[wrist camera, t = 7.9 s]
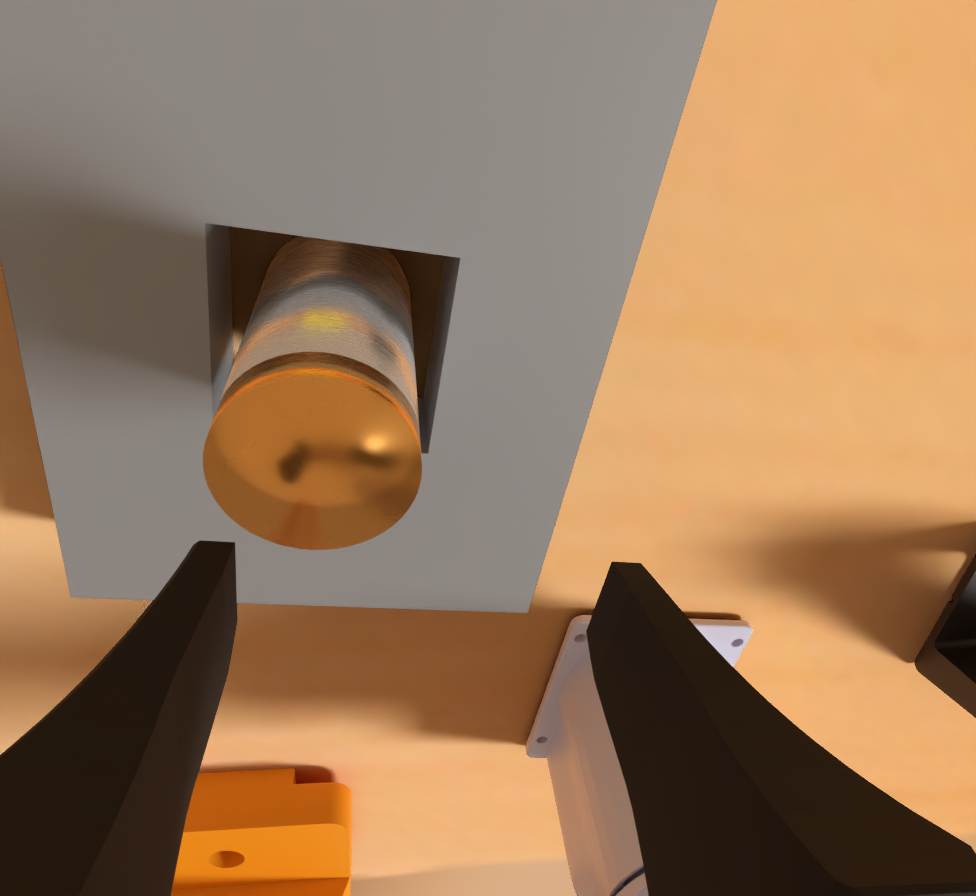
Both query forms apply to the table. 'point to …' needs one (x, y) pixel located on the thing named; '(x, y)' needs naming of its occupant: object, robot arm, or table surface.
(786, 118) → the table surface
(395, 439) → the glass jar with lid
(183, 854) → the bracket
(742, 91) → the table surface
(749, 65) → the table surface
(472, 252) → the dock plate
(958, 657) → the phone stand
